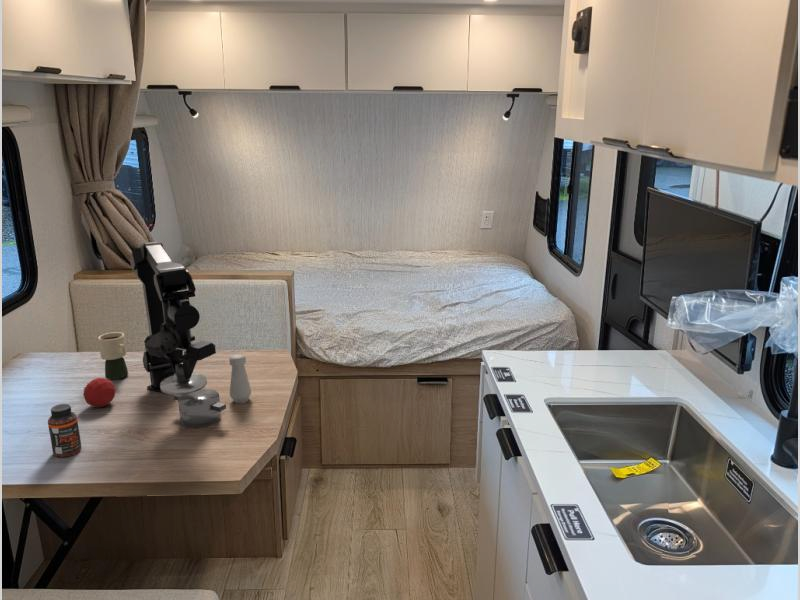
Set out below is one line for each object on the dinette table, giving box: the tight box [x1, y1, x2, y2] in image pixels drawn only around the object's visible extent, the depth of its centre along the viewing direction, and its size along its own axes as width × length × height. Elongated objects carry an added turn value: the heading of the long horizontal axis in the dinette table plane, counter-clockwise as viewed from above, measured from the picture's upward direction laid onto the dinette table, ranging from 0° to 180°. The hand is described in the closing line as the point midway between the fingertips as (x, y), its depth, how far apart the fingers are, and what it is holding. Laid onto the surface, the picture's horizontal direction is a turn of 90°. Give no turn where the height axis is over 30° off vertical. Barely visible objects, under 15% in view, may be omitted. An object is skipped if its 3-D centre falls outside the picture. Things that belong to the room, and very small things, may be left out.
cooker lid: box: [160, 361, 208, 396], centre depth 154 cm, size 11×11×6 cm
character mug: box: [97, 331, 129, 380], centre depth 183 cm, size 11×7×13 cm, turn 59°
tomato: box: [82, 377, 117, 408], centre depth 166 cm, size 8×8×8 cm
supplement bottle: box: [47, 403, 82, 458], centre depth 142 cm, size 6×6×11 cm
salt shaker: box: [229, 353, 252, 404], centre depth 168 cm, size 6×6×13 cm
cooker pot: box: [172, 388, 227, 429], centre depth 158 cm, size 16×10×6 cm, turn 63°
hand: (183, 377), depth 155 cm, fingers closed on cooker lid, 3 cm apart
